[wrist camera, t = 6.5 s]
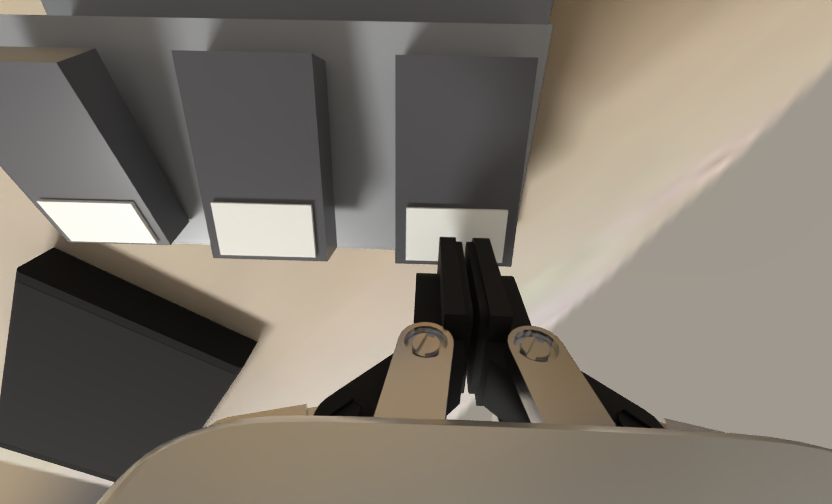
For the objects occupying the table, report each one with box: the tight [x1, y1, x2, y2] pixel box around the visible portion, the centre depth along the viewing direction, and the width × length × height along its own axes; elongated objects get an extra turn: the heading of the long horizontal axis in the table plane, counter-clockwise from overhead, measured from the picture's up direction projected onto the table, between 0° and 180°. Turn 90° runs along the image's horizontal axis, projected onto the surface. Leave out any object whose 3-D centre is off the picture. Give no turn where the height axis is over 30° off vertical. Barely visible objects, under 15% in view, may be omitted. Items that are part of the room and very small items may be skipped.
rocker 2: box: [171, 50, 337, 261], centre depth 13 cm, size 7×4×2 cm, turn 179°
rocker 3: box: [395, 55, 538, 267], centre depth 13 cm, size 7×4×2 cm, turn 179°
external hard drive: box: [0, 248, 257, 482], centre depth 29 cm, size 14×23×3 cm, turn 144°
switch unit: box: [0, 0, 553, 250], centre depth 15 cm, size 18×22×5 cm
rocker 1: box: [0, 46, 190, 245], centre depth 13 cm, size 7×4×2 cm, turn 0°
